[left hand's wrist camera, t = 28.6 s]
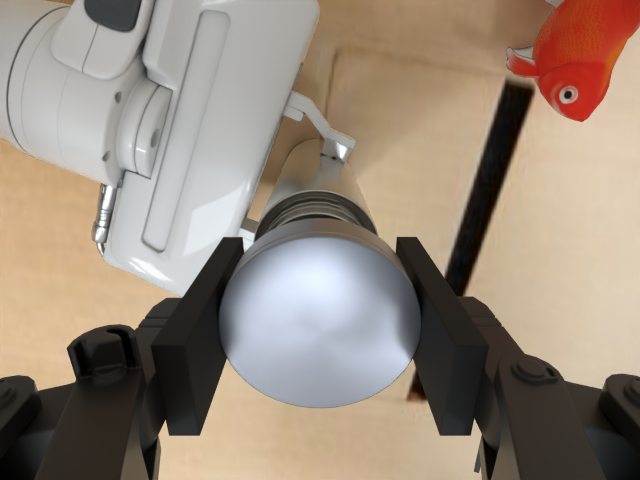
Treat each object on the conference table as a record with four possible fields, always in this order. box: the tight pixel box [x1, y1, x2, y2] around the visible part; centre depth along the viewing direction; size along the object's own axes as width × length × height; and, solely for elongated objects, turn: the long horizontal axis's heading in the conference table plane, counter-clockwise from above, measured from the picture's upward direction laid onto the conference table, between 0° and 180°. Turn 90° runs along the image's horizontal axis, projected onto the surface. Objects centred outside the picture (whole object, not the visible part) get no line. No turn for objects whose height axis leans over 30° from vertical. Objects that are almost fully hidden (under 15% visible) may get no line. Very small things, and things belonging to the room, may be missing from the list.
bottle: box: [253, 139, 379, 243], centre depth 22 cm, size 5×5×17 cm
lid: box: [218, 218, 422, 408], centre depth 11 cm, size 6×6×2 cm
